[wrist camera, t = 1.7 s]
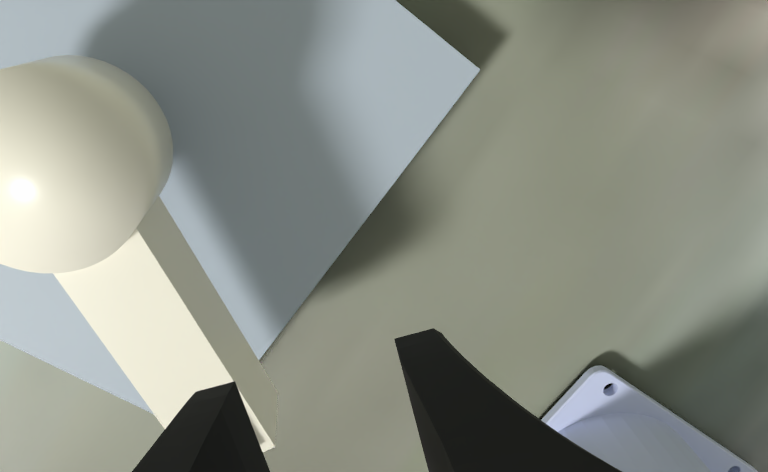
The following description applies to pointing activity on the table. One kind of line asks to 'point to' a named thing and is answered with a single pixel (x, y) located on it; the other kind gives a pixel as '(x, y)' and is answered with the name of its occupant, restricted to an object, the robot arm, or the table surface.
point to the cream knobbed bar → (117, 232)
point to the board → (244, 143)
